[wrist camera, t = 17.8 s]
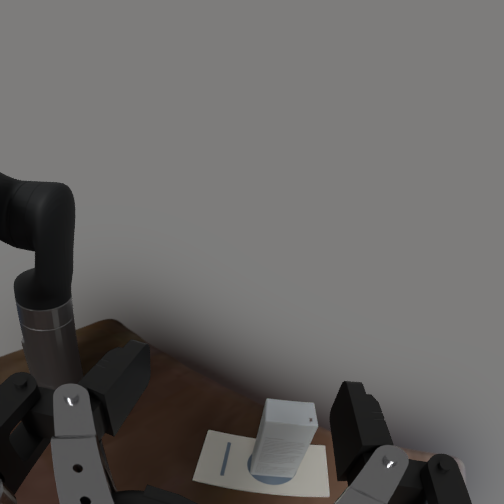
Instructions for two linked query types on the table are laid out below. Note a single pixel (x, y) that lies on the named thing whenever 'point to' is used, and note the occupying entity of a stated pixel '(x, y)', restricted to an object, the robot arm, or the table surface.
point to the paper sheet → (239, 478)
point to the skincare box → (283, 437)
